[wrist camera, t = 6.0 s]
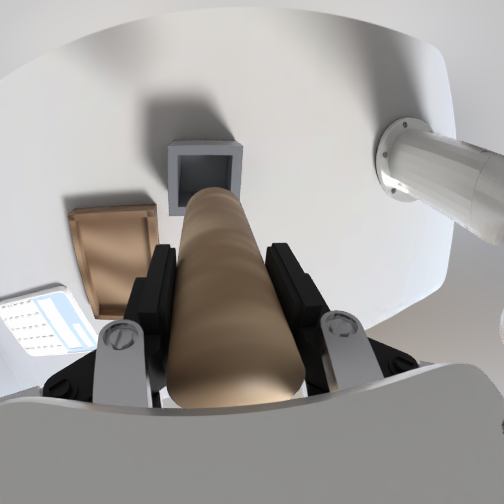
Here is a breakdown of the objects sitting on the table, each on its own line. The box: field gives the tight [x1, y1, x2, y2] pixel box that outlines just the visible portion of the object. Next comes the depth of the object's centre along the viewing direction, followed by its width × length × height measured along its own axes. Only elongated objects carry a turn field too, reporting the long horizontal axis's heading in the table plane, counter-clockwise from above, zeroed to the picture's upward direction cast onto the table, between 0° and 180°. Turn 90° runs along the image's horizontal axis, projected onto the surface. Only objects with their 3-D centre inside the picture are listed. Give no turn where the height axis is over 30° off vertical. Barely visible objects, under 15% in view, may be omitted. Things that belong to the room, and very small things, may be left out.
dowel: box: [167, 187, 305, 408], centre depth 11 cm, size 4×4×12 cm
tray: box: [68, 204, 159, 320], centre depth 32 cm, size 16×11×2 cm
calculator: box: [0, 286, 98, 356], centre depth 35 cm, size 13×20×2 cm, turn 98°
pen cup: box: [168, 140, 243, 216], centre depth 27 cm, size 7×7×6 cm
